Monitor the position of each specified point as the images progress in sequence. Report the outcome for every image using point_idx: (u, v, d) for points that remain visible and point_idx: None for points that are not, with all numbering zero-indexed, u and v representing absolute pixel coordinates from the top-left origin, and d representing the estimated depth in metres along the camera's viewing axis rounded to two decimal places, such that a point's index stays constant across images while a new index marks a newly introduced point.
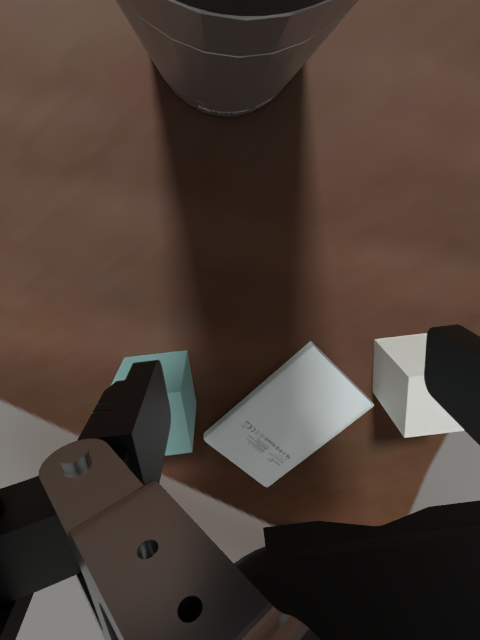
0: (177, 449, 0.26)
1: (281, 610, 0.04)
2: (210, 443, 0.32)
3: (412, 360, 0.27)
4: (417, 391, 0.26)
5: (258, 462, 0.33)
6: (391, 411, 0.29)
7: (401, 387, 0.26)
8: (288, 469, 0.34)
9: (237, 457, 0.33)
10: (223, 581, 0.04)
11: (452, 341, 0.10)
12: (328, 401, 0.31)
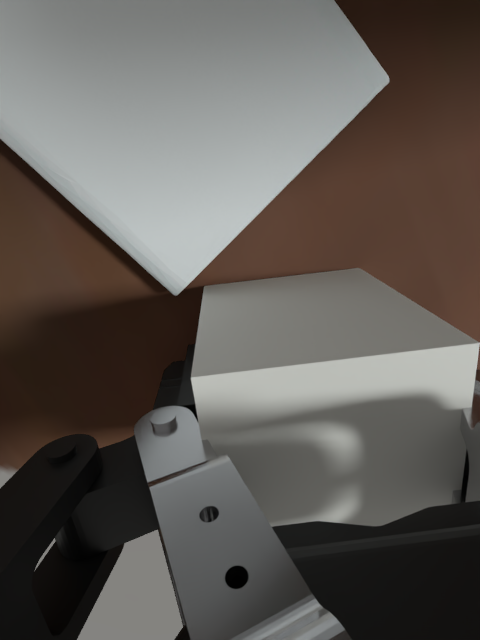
0: None
1: None
2: None
3: None
4: (409, 384, 0.07)
5: None
6: (227, 326, 0.09)
7: (379, 332, 0.07)
8: None
9: None
10: (272, 560, 0.04)
11: None
12: (191, 147, 0.10)
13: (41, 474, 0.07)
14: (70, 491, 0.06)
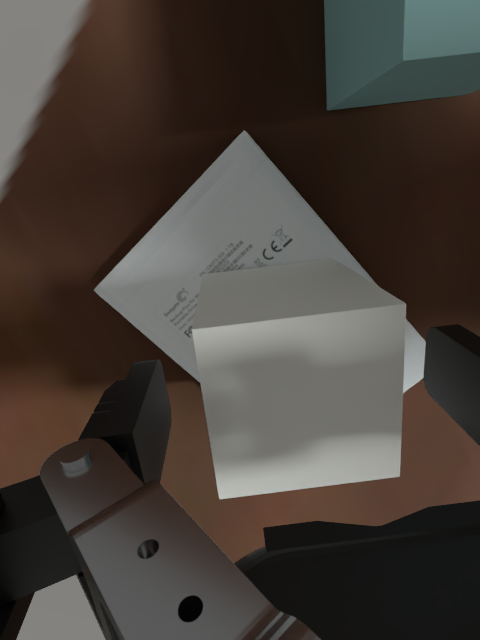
0: (425, 2, 0.08)
1: (281, 610, 0.04)
2: (235, 148, 0.13)
3: None
4: (355, 336, 0.09)
5: (173, 268, 0.14)
6: (220, 299, 0.11)
7: (335, 299, 0.10)
8: (152, 334, 0.15)
9: (188, 217, 0.14)
10: (224, 579, 0.04)
11: (451, 341, 0.10)
12: None
13: None
14: None
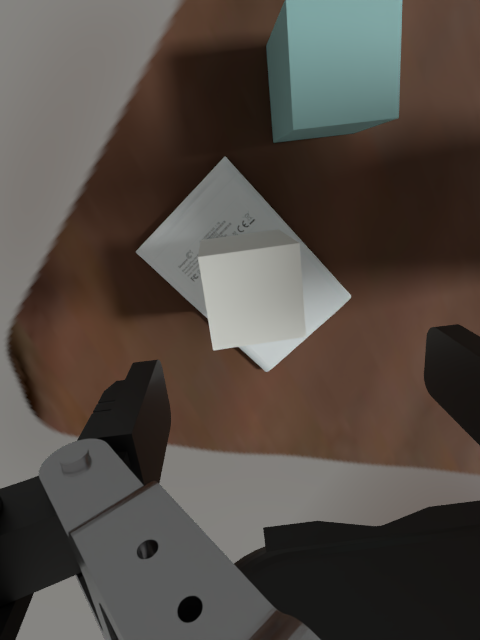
0: (301, 105, 0.17)
1: (281, 610, 0.04)
2: (219, 166, 0.23)
3: None
4: (276, 259, 0.19)
5: (184, 237, 0.24)
6: (211, 247, 0.20)
7: (268, 244, 0.19)
8: (171, 279, 0.25)
9: (193, 207, 0.23)
10: (223, 581, 0.04)
11: (452, 341, 0.10)
12: None
13: None
14: None
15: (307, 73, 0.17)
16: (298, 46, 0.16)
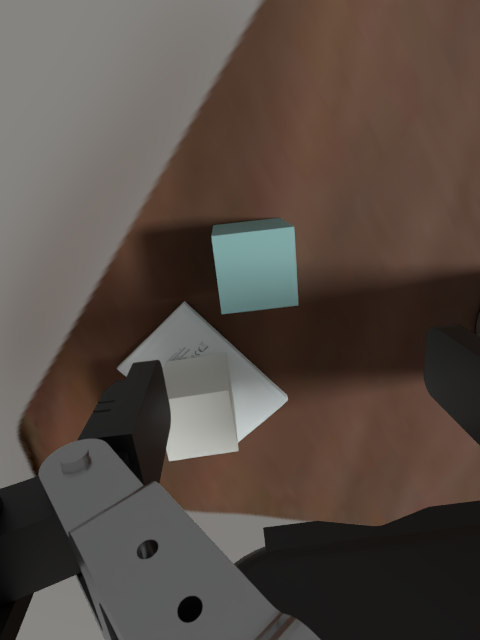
0: (226, 299, 0.24)
1: (281, 610, 0.04)
2: (179, 311, 0.30)
3: (230, 390, 0.28)
4: (212, 401, 0.26)
5: (153, 359, 0.31)
6: (168, 383, 0.27)
7: (208, 386, 0.26)
8: None
9: (160, 338, 0.30)
10: (223, 581, 0.04)
11: (452, 341, 0.10)
12: None
13: None
14: None
15: (229, 279, 0.24)
16: (222, 264, 0.23)
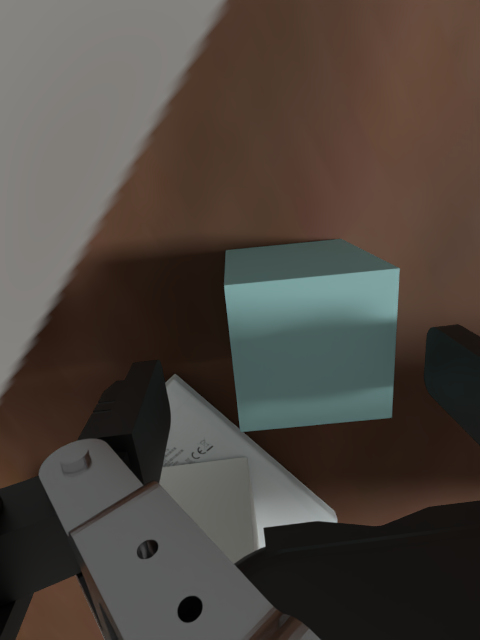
0: (250, 406, 0.12)
1: (281, 610, 0.04)
2: None
3: (255, 546, 0.16)
4: None
5: None
6: None
7: None
8: None
9: None
10: (223, 580, 0.04)
11: (452, 341, 0.10)
12: None
13: None
14: None
15: (258, 369, 0.12)
16: (244, 340, 0.11)
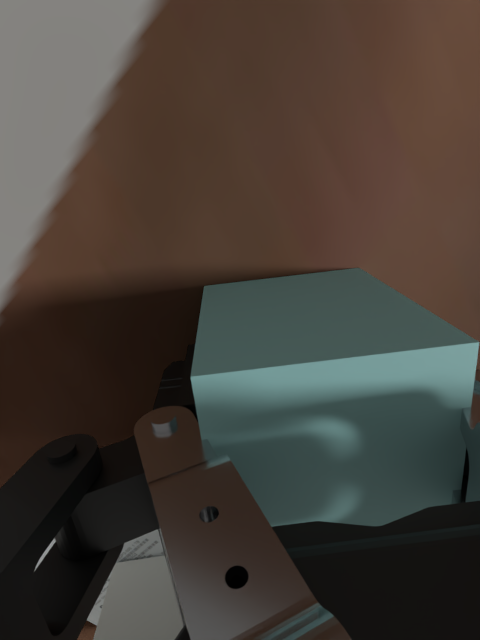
0: None
1: None
2: None
3: None
4: None
5: None
6: None
7: None
8: None
9: None
10: (272, 561, 0.04)
11: None
12: None
13: (41, 474, 0.07)
14: (69, 492, 0.06)
15: None
16: None
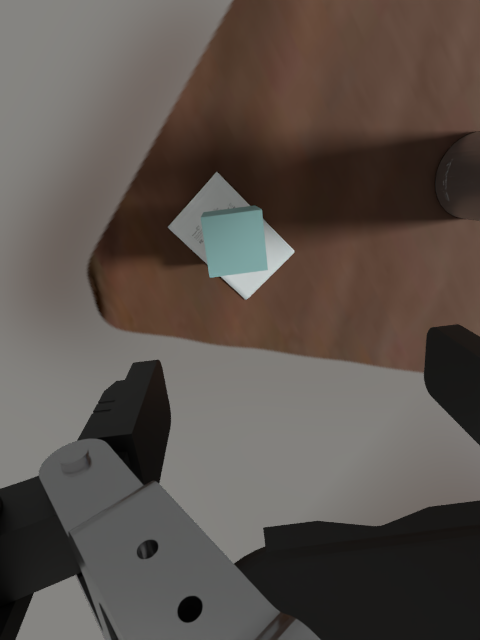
0: (212, 266, 0.32)
1: (281, 610, 0.04)
2: (213, 177, 0.41)
3: None
4: None
5: (195, 218, 0.42)
6: None
7: None
8: (188, 243, 0.43)
9: (199, 200, 0.42)
10: (223, 580, 0.04)
11: (452, 341, 0.10)
12: None
13: None
14: None
15: (214, 250, 0.32)
16: (209, 238, 0.31)
